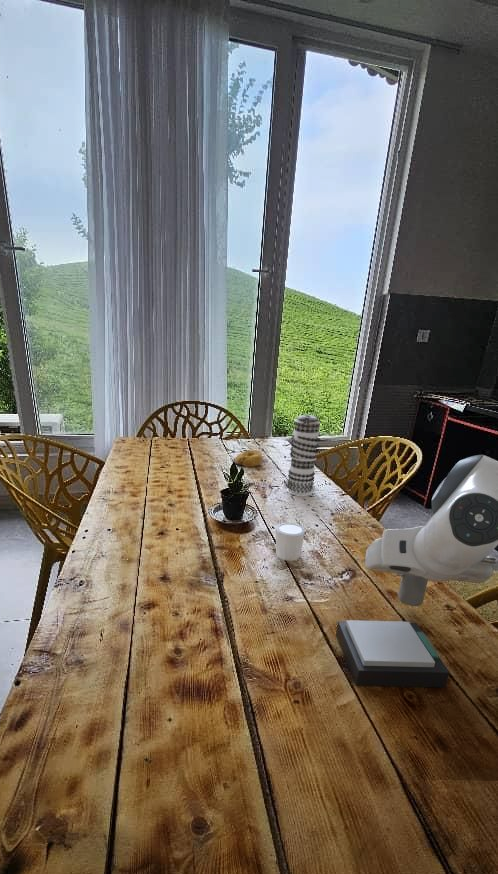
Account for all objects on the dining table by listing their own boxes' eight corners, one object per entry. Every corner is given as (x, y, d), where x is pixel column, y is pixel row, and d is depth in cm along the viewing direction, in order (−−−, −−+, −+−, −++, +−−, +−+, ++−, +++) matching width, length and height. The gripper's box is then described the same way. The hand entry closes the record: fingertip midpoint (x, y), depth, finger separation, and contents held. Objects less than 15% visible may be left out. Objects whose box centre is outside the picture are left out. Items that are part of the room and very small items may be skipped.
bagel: (232, 460, 178) (232, 448, 176) (259, 460, 179) (260, 448, 177) (235, 467, 169) (236, 455, 167) (264, 467, 170) (265, 455, 168)
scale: (412, 636, 80) (417, 618, 78) (445, 687, 69) (451, 667, 67) (335, 634, 79) (338, 616, 78) (355, 685, 68) (360, 665, 67)
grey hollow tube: (403, 590, 89) (413, 545, 85) (426, 600, 86) (437, 553, 82) (393, 599, 86) (403, 552, 82) (416, 609, 83) (427, 561, 79)
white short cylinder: (304, 562, 103) (307, 535, 100) (274, 561, 103) (277, 534, 100) (299, 548, 109) (302, 523, 107) (272, 547, 109) (274, 521, 107)
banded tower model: (319, 493, 146) (329, 417, 137) (299, 498, 141) (308, 420, 132) (300, 484, 153) (308, 412, 144) (279, 489, 148) (287, 414, 139)
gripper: (506, 542, 72) (471, 564, 84) (374, 528, 75) (360, 552, 88) (510, 580, 69) (474, 597, 82) (374, 564, 73) (359, 583, 85)
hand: (414, 574), depth 85 cm, fingers closed on grey hollow tube, 4 cm apart
